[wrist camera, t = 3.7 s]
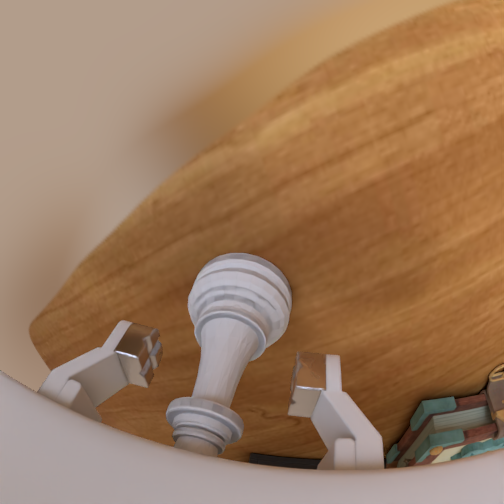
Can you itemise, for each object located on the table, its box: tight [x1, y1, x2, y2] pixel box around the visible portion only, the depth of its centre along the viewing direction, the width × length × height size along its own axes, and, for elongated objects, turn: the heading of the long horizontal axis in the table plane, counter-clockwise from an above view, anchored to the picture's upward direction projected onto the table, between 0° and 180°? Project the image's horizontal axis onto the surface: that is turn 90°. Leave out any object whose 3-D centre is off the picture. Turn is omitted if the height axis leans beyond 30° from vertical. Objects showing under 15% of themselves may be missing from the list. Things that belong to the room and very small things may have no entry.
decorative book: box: [386, 364, 504, 469], centre depth 14 cm, size 13×18×5 cm
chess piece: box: [166, 253, 292, 457], centre depth 9 cm, size 4×4×10 cm
